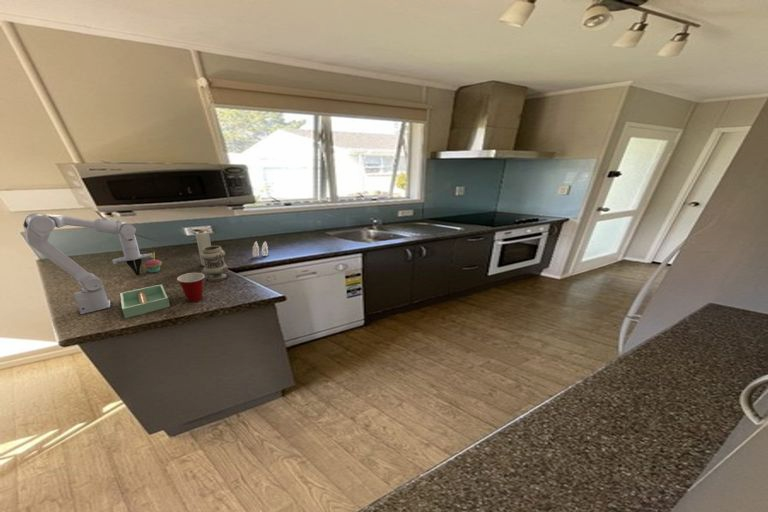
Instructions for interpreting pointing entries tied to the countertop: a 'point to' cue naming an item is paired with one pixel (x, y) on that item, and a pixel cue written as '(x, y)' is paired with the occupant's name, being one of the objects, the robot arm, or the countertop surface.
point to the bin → (155, 302)
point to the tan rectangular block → (141, 297)
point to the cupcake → (153, 264)
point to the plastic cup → (192, 285)
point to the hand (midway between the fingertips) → (137, 274)
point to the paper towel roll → (202, 242)
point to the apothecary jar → (214, 263)
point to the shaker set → (256, 249)
